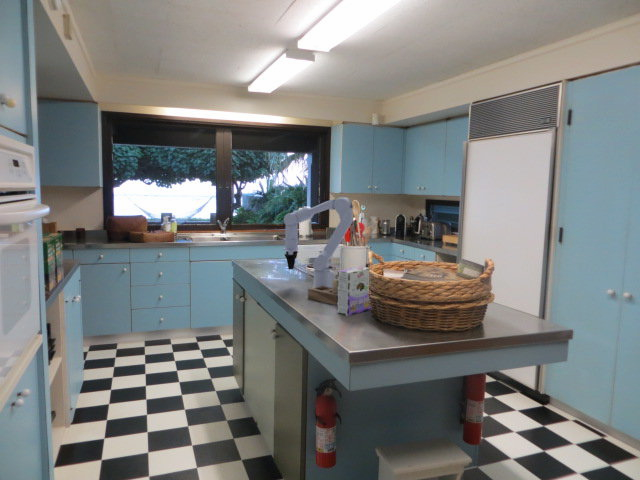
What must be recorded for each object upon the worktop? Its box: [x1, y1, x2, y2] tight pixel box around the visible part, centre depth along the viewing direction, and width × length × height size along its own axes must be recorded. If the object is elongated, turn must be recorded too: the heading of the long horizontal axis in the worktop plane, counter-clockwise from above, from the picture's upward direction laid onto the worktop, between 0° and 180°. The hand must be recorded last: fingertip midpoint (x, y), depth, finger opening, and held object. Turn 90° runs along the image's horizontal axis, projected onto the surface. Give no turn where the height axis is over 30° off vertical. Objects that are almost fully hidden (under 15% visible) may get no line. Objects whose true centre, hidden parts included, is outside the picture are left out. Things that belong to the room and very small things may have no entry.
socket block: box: [307, 286, 338, 306], centre depth 194 cm, size 9×16×4 cm, turn 46°
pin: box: [332, 278, 338, 294], centre depth 191 cm, size 3×3×8 cm
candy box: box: [336, 266, 371, 317], centre depth 176 cm, size 14×6×16 cm, turn 134°
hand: (291, 267), depth 215 cm, fingers open, 7 cm apart
